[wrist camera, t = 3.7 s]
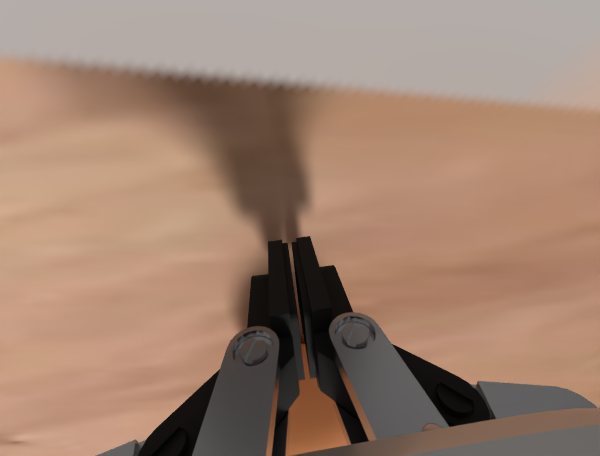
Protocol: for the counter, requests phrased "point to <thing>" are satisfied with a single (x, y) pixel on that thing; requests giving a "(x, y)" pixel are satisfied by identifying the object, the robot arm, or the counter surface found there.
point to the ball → (313, 418)
